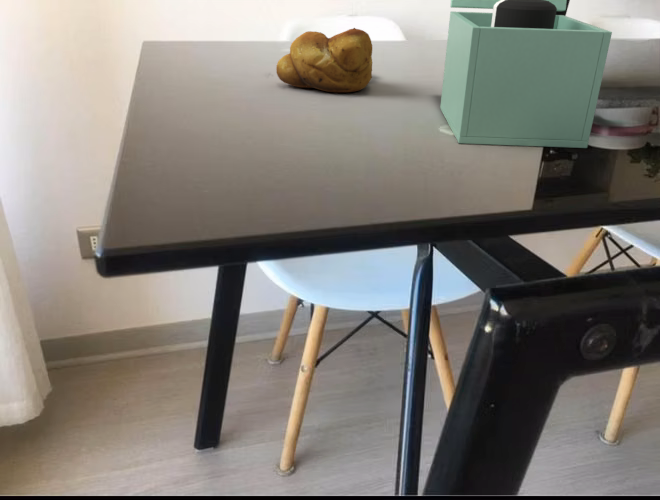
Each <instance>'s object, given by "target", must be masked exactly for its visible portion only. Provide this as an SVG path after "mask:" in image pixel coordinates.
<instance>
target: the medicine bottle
mask: <svg viewBox="0 0 660 500" xmlns="http://www.w3.org/2000/svg"><path fill="white" fill-rule="evenodd" d="M556 11H557V8H556V6H555V5H554V4H552V3H551V2H549V1H546V0H500V1H498V2H496V4H495V5H494V7H493V9H492V13H493V14H492V22H491V27H506V28H536V29H553V28H554V23H555V17H556Z"/></svg>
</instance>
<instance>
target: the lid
mask: <svg viewBox="0 0 660 500" xmlns="http://www.w3.org/2000/svg"><path fill="white" fill-rule="evenodd" d="M498 1H500V0H450V8H454V9H455V8H456V9H483V10H484V9H485V10H493V7H494V5H495V4H496V2H498ZM546 1H549V2H551V3H552V4H554V5H555V6H556V8H557V11H565V10H566V2H567V0H546Z"/></svg>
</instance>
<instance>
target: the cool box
mask: <svg viewBox="0 0 660 500" xmlns="http://www.w3.org/2000/svg"><path fill="white" fill-rule="evenodd" d="M492 14H493V12H476V11H475V12H474V11H450V13H449V21H448V29H447V30H448V31H447V32H448V33H447V41H446V49H445V50H446V51H445V60H444V69H443V79H442V88H441V98H440V105H439V106H440V107H439V108H440V111H441V113H442V115H443V116H444V118H445V120H446V122H447V124H448V126H449V128H450V129H451V132H452V133H453V135H454V137H455V139H456V141H457V143H458V144H467V145H492V146H495V145H496V146H520V147H521V146H522V147H545V148H572V149H573V148H575V149H588V147H589V142H590V136H591V132H592V127H593V123H594V120H595V119H594V118H595V114H596V109H597V104H598V100H599V96H600V90H601V85H602V81H603V75H604V73H605V72H604V71H605V67H606V62H607V57H608V53H609V48H610V43H611V39H612V35H613V32H612V31H611V30H608V29H604V28H601V27H599V26H596V25H593V24H591V23H587V22H584V21H581V20H578V19H575V18H572V17H569V16H567V15H566V16H564V15H556V17H555V23H554V28H553V29H536V28H506V27H491V22H492Z"/></svg>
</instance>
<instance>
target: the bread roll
mask: <svg viewBox="0 0 660 500" xmlns="http://www.w3.org/2000/svg"><path fill="white" fill-rule="evenodd" d="M275 69H276V70H275V71H276V75H277V77H278V79H279V80H280V81H281V82H283V83H285V84H287V85H288V86H289V85H290V86H293V87H297V88H303V89H305V88H308V89H310V88H313V89H317V90H319V91H323V92H327V93H354V92H358V91H361V90H363V89H365V88H366V87H367V86H368V84H369V83H370V82H371V80H372V78H373V76H372V75H373V74H372V72H373V43H372V39H371V37H370V35H369V33H367V31H365V30H364V29H363V30H362V29H359V28H355V27H353V28H349V29H347V30H345V31H343V32H339V33H337V34H335V35H333V36H331V37H327V36H326V34H325V33H323V32H319V31H317V30H316V31H311V30H309V31H305V32H303V33H302V34H300V35H299V36H297V37H296V38H295V39H294V40H293V41H292V43H291V44H290V47H289V53H287V54H285V55H284V56H282V57H281V58H280V59H279V60H278V61H277V63H276V68H275Z"/></svg>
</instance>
